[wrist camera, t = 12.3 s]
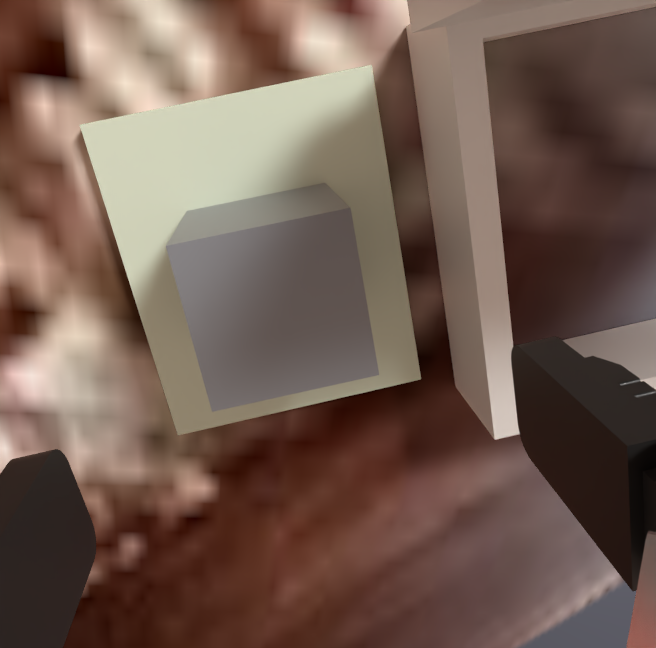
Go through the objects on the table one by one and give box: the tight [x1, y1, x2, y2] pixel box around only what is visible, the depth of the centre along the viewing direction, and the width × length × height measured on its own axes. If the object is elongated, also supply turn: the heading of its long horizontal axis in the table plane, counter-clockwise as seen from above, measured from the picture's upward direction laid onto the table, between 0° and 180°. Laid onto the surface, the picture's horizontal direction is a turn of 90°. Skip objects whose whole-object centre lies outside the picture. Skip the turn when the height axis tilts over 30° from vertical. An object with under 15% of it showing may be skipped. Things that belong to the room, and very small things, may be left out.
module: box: [166, 183, 379, 412], centre depth 20 cm, size 5×5×6 cm
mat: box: [80, 65, 421, 435], centre depth 23 cm, size 10×12×1 cm
